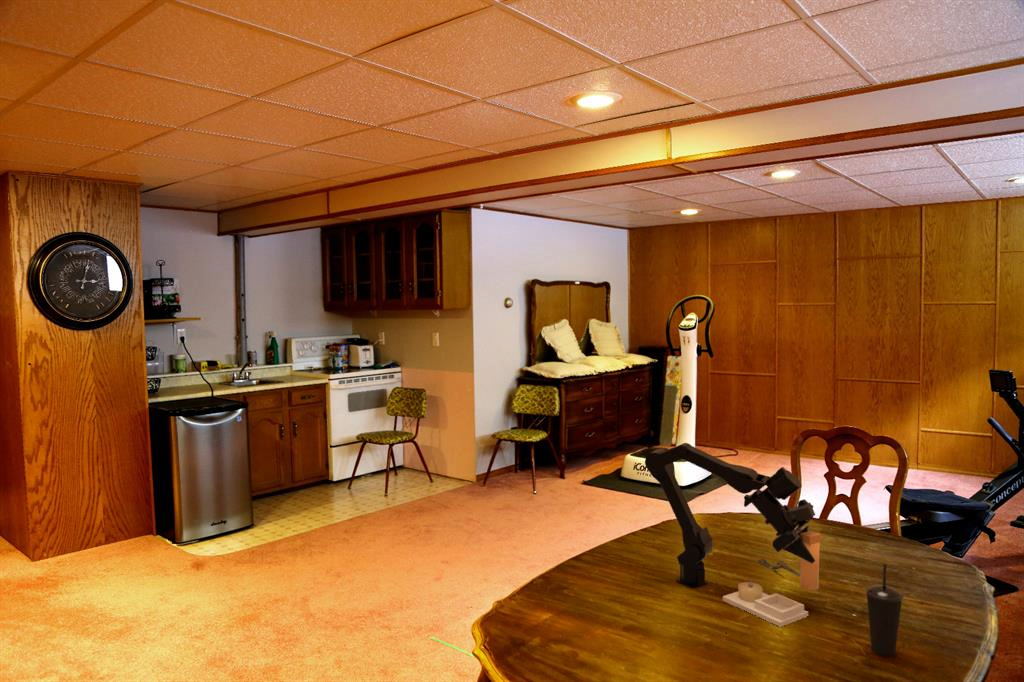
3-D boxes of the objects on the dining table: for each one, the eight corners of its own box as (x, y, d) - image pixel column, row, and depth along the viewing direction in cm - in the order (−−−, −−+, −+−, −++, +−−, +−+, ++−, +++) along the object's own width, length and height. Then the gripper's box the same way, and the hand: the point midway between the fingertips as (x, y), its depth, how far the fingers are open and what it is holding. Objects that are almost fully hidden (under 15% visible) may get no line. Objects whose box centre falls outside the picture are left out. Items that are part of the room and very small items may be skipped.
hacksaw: (756, 562, 214) (756, 557, 214) (785, 559, 217) (785, 554, 217) (807, 594, 191) (807, 589, 191) (839, 590, 193) (839, 585, 193)
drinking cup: (857, 643, 163) (859, 559, 161) (888, 641, 163) (890, 558, 162) (877, 660, 155) (879, 572, 154) (909, 658, 156) (911, 570, 154)
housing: (722, 600, 186) (722, 581, 186) (750, 591, 192) (750, 573, 192) (779, 627, 171) (780, 606, 171) (808, 616, 177) (808, 596, 176)
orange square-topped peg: (796, 585, 182) (797, 532, 181) (807, 582, 184) (809, 529, 183) (810, 591, 178) (811, 537, 177) (822, 588, 180) (823, 535, 179)
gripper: (787, 500, 174) (833, 553, 168) (802, 484, 189) (846, 531, 184) (754, 525, 178) (798, 577, 173) (772, 507, 194) (813, 554, 188)
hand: (815, 559), depth 179 cm, fingers closed on orange square-topped peg, 4 cm apart
